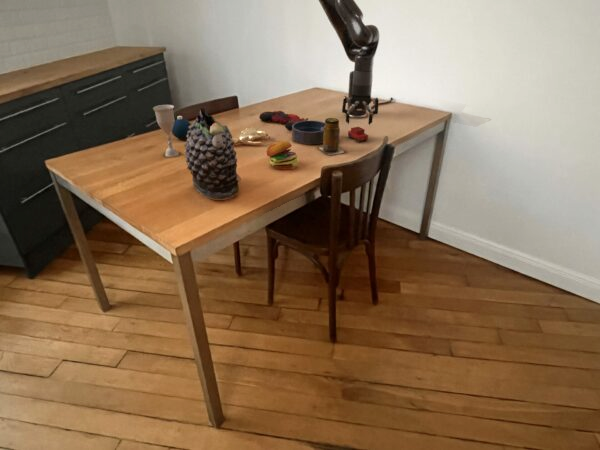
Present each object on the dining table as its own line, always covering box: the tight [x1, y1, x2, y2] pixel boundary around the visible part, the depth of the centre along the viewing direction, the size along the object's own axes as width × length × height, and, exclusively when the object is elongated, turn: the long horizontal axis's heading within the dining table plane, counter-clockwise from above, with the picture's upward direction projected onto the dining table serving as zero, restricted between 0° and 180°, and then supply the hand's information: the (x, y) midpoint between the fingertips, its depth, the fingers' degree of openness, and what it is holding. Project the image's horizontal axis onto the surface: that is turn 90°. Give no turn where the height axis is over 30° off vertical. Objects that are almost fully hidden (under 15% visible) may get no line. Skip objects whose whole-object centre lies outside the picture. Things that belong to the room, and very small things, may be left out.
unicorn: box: [232, 127, 271, 146], centre depth 167 cm, size 20×4×17 cm
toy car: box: [347, 126, 369, 143], centre depth 168 cm, size 8×4×4 cm, turn 29°
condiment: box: [318, 117, 345, 156], centre depth 155 cm, size 7×8×12 cm
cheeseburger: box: [266, 140, 298, 170], centre depth 144 cm, size 10×11×10 cm
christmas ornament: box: [171, 115, 192, 140], centre depth 167 cm, size 8×8×10 cm
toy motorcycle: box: [259, 110, 309, 131], centre depth 186 cm, size 25×5×16 cm
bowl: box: [291, 120, 325, 145], centre depth 168 cm, size 15×15×6 cm
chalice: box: [152, 104, 180, 158], centre depth 150 cm, size 7×7×18 cm
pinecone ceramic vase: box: [183, 107, 242, 201], centre depth 123 cm, size 21×15×25 cm
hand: (358, 123), depth 165 cm, fingers open, 8 cm apart
